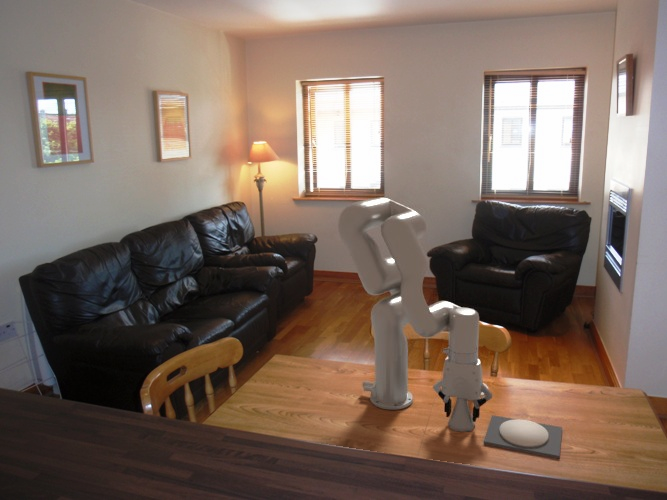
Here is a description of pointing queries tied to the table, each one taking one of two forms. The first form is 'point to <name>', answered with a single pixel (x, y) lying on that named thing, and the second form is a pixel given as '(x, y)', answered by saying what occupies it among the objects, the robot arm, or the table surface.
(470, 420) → the flask
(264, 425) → the table surface
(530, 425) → the saucer mat
